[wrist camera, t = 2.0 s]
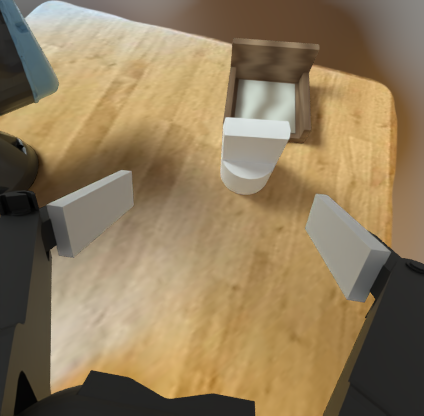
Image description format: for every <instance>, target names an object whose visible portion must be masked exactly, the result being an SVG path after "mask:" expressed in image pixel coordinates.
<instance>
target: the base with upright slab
mask: <svg viewBox="0 0 424 416" xmlns="http://www.w3.org/2000/svg"><path fill="white" fill-rule="evenodd" d="M290 131H291V130H290V125H289V122H288V121H277V120H261V119H246V118H231V117H226V118H225V121H224V125H223V137H222V153H221V170H220V172H221V179H222V181H223V183H224V184H225V186H226V187H227V188H228V189H230V190H231V191H233V192H235V193H237V194H242V195H250V194H253V193H256V192H258V191H260V190H261V189H262V188H263V187H264V186H265V185H266V183H267V181H268V179H269V177H270V175H271V173H272V171H273V169H274V167H275V165H276V163H277V161H278V159H279V157H280V156H281V154H282V152H283V150H284V148H285V146H286V144H287V142H288V140H289V138H290Z"/></svg>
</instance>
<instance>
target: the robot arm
mask: <svg viewBox="0 0 424 416" xmlns="http://www.w3.org/2000/svg"><path fill="white" fill-rule="evenodd" d="M58 86H59V82H58V78H57V76H56V74H55V72H54V70H53V69H52V67H51V65H50V63H49V61H48V60H47V58H46V56H45V54H44V52H43V51H42V49H41V47H40V45H39V43H38V42H37V40H36V38H35V37H34V35H33V33H32V31H31V30H30V28H29V26H28V24H27V22H26V21H25V19H24V17H23V16H22V14H21V12H20V10H19V9H18V7H17V5H16V3H15V2H14V0H0V116H2V115H5V114H7V113H9V112H12V111H14V110H17V109H19V108H22V107H24V106H27V105H29V104H31V103H38V102H39V100H40V99H42V98H44V97H46V96H48V95H51V94H53V93H55V92H56V91H57V89H58ZM37 171H38V157H37V155H36V153H35V151H34V150H33V149H32V148H31V147H30V146H29V145H27V144H26V143H25V142H23V141H22V140H21V139H19V138H17V137H15V136H13V135H10V134H8V133H5V132H2V131H0V214H1V216H0V416H255V401H250V400H245V399H240V398H234V397H229V396H224V395H219V394H205V395H197V396H189V397H182V398H174V399H167V398H164V397H162V396H160V395H159V394H157V393H155V392H154V391H152V390H150V389H148V388H147V387H145V386H143V385H141V384H140V383H138V382H136V381H135V380H133V379H131V378H129V377H124V376H119V375H113V374H108V373H103V372H98V371H92V370H91V371H90V373H89V375H88V377H87V378H86V380H85V382H84V383H83V385H79V386H75V387H71V388H67V389H64V390H62V391H59V392H56V393H54V394H52V395H51V390H50V353H51V272H52V256H51V252H50V249H52V248H53V247H55V246H57V250H58V254H59V255H60V256H66V257H73V258H74V257H75V256H76V255H77V254H78V253H79V252H81V251H82V250H83V249H84V248H85V247H86V246H88V245H89V244H90V243H91V242H92V241H93V240H95V239H96V238H97V237H98V236H99V235H100V234H102V233H103V232H104V231H105V230H106V229H107V228H108V227H110V226H111V225H112V224H113V223H114V222H115V221H117V220H118V219H119V218H120V217H121V216H122V215H124V214H125V213H126V212H127V211H128V210H129V209H131V208H132V207H133V206H134V200H133V185H132V171H127V170H120V171H118V172H116V173H114V174H111V175H109V176H107V177H105V178H103V179H101V180H99V181H96V182H94V183H92V184H90V185H88V186H86V187H83V188H81V189H79V190H77V191H75V192H73V193H71V194H68V195H66V196H64V197H62V198H60V199H58V200H55V201H53V202H51V203H49V204H47V205H46V206H44V207H42V208H40V209H39V207H38V203H37V200H36V196H35V193H34V192H32V191H27V190H28V189H29V187H30V186H31V185H32V183H33V181H34V179H35V177H36V175H37ZM305 229H306V231H307V233H308V234H309V236H310V238H311V240H312V241H313V243H314V245H315V246H316V248H317V250H318V251H319V253H320V255H321V257H322V258H323V260H324V262H325V263H326V265H327V267H328V268H329V270H330V272H331V273H332V275H333V277H334V279H335V280H336V282H337V284H338V285H339V287H340V289H341V290H342V292H343V294H344V296H345V297H346V299H347V300H352V301H359V302H365V300H366V299H367V297H368V295H369V293H370V292H371V294H372V295H373V296H374V298H375V301H374V303H373V304H372V306H371V308H370V310H369V312H368V313H367V315H366V317H365V318H366V320H365V322H364V324H363V327H362V329H361V331H360V333H359V335H358V338H357V340H356V342H355V344H354V347H353V349H352V351H351V353H350V356H349V358H348V360H347V362H346V365H345V367H344V369H343V371H342V373H341V376H340V378H339V380H338V382H337V385H336V387H335V389H334V391H333V394H332V396H331V398H330V400H329V402H328V405H327V407H326V409H325V411H324V414H323V416H424V264H422V263H420V262H417V261H414V260H411V259H405V258H401V257H400V256H399V255H398V254H396V253H395V252H394V251H393V250H392V249H391V248H390V247H387V245H386V244H385V243H384V242H382V240H380V239H379V238H378V237H377V236H376V235H374V234H372V233H371V232H369V231H367V230H366V229H365V228H364V227H363V226H361V225H360V224H359V223H358V222H357V221H356V220H355V219H354V218H352V217H351V216H350V215H349V214H348V213H347V212H346V211H345V210H344V209H342V208H341V207H340V206H339V205H338V204H337V203H336V202H335V201H333V200H332V199H331V198H330V197H329V196H328V195H323V194H316V195H315V198H314V201H313V204H312V208H311V211H310V214H309V217H308V220H307V224H306V227H305Z"/></svg>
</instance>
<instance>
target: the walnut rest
mask: <svg viewBox="0 0 424 416" xmlns="http://www.w3.org/2000/svg"><path fill="white" fill-rule="evenodd" d="M318 51H319V44H306V43H293V42H279V41H266V40H253V39H240V38H233V44H232V57H231V68H230V76H229V83H228V91H227V98H226V105H225V113H224V120H223V125H224V121H225V118H226V117H231V118H246V119H261V120H277V121H288V122H289V125H290V130H291V131H290V138H289V140H288V142H296V143H304V141H305V139H306V138H307V136H308V135H309V133H310V131H311V113H310V89H309V71H310V69H311V67H312V65H313V63H314V60H315V58H316V56H317V54H318Z"/></svg>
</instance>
